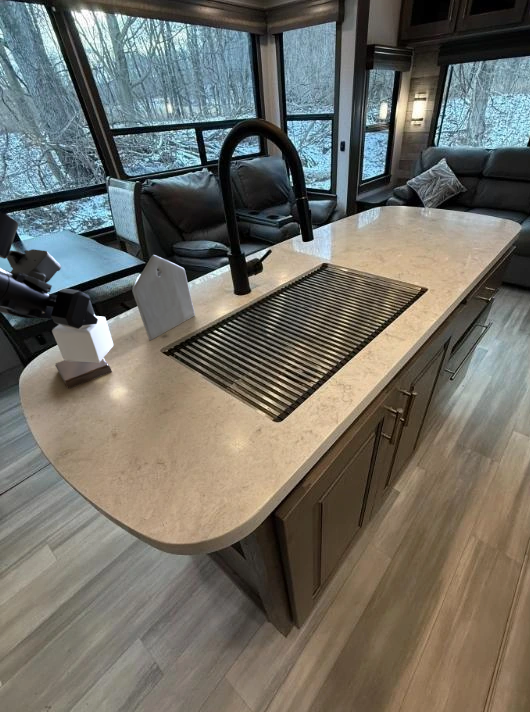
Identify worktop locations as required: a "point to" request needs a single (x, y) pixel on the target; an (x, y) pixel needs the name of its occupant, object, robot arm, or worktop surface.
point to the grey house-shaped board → (162, 296)
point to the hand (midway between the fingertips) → (81, 318)
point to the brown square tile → (81, 371)
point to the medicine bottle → (84, 340)
